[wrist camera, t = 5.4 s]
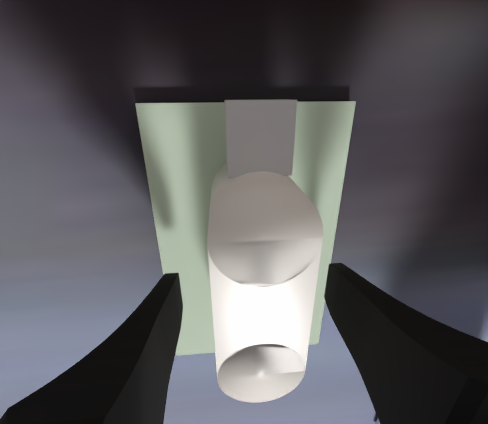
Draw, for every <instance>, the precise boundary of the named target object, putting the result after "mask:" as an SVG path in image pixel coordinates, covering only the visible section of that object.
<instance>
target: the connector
mask: <svg viewBox="0 0 488 424" xmlns="http://www.w3.org/2000/svg"><path fill="white" fill-rule="evenodd" d="M224 105H225V134H226V162H225V163H224V164H223V165H222V166H221V167H220V168H219V170H218V171H217V173H216V174H215V177H214V179H213V182H212V188H211V199H210V211H209V222H208V234H207V247H208V260H209V273H210V287H211V300H212V314H213V327H214V340H215V354H216V367H217V380H218V384H219V386H220V388H221V389H222V391H223V392H224V393H225V394H227V395H228V396H230V397H232V398H234V399H236V400H239V401H244V402H265V401H270V400H274V399H277V398H279V397H282V396H284V395H286V394H288V393H289V392H291V391H292V390H293V389H294V388H296V387H297V386H298V384H299V383H300V382H301V380H302V379H303V376H304V373H305V367H306V360H307V352H308V345H309V338H310V330H311V323H312V315H313V308H314V300H315V293H316V285H317V278H318V270H319V263H320V256H321V248H322V241H323V223H322V219H321V216H320V214H319V212H318V210H317V208H316V207H315V205H314V204H313V203H312V202H311V200H310V199H309V198H308V197H307V196H306V195H305V194H304V193H303V191H302V190H301V189H300V188H299V187H298V186H297V185H296V184H295V182H294V181H293V180H292V179H291V178H290V177H289V176H292V170H293V156H294V142H295V128H296V113H297V100H290V99H269V100H224Z"/></svg>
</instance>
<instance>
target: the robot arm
mask: <svg viewBox="0 0 488 424" xmlns="http://www.w3.org/2000/svg"><path fill="white" fill-rule="evenodd" d="M324 298H325V301H326V304H327V307H328V309H329V312H330V315H331V317H332V319H333V321H334V323H335V325H336V327H337V329H338V331H339V333H340V334H341V336H342V338H343V340H344V342H345V344H346V346H347V348H348V349H349V351H350V353H351V355H352V357H353V359H354V361H355V363H356V365H357V367H358V369H359V371H360V374H361V376H362V379H363V381H364V383H365V386H366V388H367V391H368V393H369V396H370V398H371V401H372V403H373V406H374V409H375V411H376V414H377V416H378V419H377V422H376V424H488V342H486V341H483V340H480V339H478V338H475V337H473V336H470V335H468V334H465V333H463V332H460V331H458V330H456V329H453V328H451V327H449V326H447V325H445V324H442V323H440V322H438V321H436V320H434V319H432V318H430V317H428V316H426V315H424V314H422V313H420V312H418V311H416V310H414V309H412V308H410V307H409V306H407V305H405V304H403V303H402V302H400V301H398V300H397V299H395V298H393V297H392V296H390V295H388V294H387V293H385V292H384V291H382V290H381V289H379V288H378V287H376V286H375V285H373V284H372V283H370V282H369V281H367V280H366V279H364V278H363V277H361V276H360V275H358V274H357V273H356V272H354V271H353V270H351V269H350V268H348V267H347V266H345V265H344V264H342V263H333V264H329V267H328V274H327V280H326V287H325V293H324ZM182 313H183V302H182V294H181V287H180V279H179V273H165V274H164V275H163V276H162V278H161V279H160V280H159V282H158V283H157V284H156V286H155V287H154V288H153V289H152V291H151V292H150V293H149V294H148V296H147V297H146V298H145V299H144V300H143V302H142V303H141V304H140V305H139V306H138V307H137V309H136V310H135V311H134V312H133V313H132V314H131V315H130V316H129V317H128V318H127V319H126V320H125V321H124V323H123V324H122V325H121V326H120V327H119V328H117V329H116V330H115V331H114V332H113V333H112V334H111V335H110V336H109V337H108V338H107V339H106V340H105V341H103V342H102V343H101V344H100V345H99V346H97V347H96V348H95V349H94V350H92V351H91V352H90V353H89V354H88V355H86V356H85V357H84V358H83V359H81V360H80V361H79V362H77V363H76V364H75V365H73V366H72V367H71V368H69V369H68V370H67V371H65V372H64V373H62V374H61V375H59V376H58V377H57V378H55V379H54V380H52V381H51V382H49V383H48V384H46V385H45V386H43V387H42V388H40V389H38V390H37V391H35V392H34V393H32V394H30V395H29V396H27V397H26V398H24V399H22V400H21V401H19V402H18V403H16V404H14V405H13V406H11V407H9V408H8V409H7V411H6V412H5V413H4V415H3V416H2V417H1V419H0V424H163V421H164V413H165V405H166V398H167V390H168V384H169V379H170V374H171V370H172V365H173V361H174V356H175V352H176V348H177V343H178V339H179V334H180V330H181V323H182Z"/></svg>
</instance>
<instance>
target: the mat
mask: <svg viewBox="0 0 488 424" xmlns="http://www.w3.org/2000/svg"><path fill="white" fill-rule="evenodd" d="M355 104H356V101H315V102H297V113H296V128H295V142H294V156H293V170H292V176H289V177H290V178H291V179H292V180H293V181H294V182H295V184H296V185H297V186H298V187H299V188H300V189H301V190H302V191H303V193H304V194H305V195H306V196H307V197H308V198H309V199H310V200H311V202H312V203H313V204H314V205H315V207H316V208H317V210H318V212H319V214H320V216H321V219H322V223H323V241H322V248H321V256H320V263H319V270H318V278H317V285H316V293H315V300H314V308H313V315H312V323H311V330H310V338H309V345H310V344H318V342H319V335H320V329H321V323H322V316H323V310H324V303H325V298H324V293H325V287H326V280H327V274H328V267H329V264H331V258H332V252H333V245H334V239H335V232H336V226H337V220H338V213H339V207H340V200H341V194H342V187H343V181H344V174H345V168H346V162H347V155H348V149H349V142H350V136H351V129H352V123H353V117H354V110H355ZM135 105H136V111H137V117H138V123H139V129H140V135H141V142H142V148H143V154H144V160H145V166H146V172H147V178H148V184H149V190H150V196H151V202H152V209H153V215H154V221H155V227H156V233H157V239H158V245H159V251H160V257H161V263H162V269H163V275H164V274H165V273H179V279H180V287H181V294H182V302H183V313H182V323H181V330H180V334H179V339H178V343H177V348H176V355H177V356H178V355H190V354H202V353H214V352H215V340H214V327H213V314H212V300H211V287H210V273H209V260H208V247H207V234H208V222H209V211H210V199H211V188H212V182H213V179H214V177H215V174H216V173H217V171H218V170H219V168H220V167H221V166H222V165H223V164H224V163H225V162H226V134H225V105H224V102H206V103H135Z"/></svg>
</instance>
